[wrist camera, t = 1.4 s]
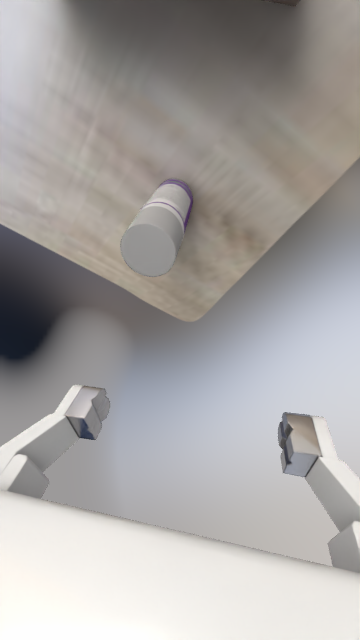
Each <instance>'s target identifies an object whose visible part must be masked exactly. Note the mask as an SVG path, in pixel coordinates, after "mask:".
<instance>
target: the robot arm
mask: <svg viewBox="0 0 360 640" xmlns="http://www.w3.org/2000/svg"><path fill="white" fill-rule="evenodd" d="M105 395H106V390H105V389H103V388H96V387H88V386H83V385H73V386H72V387H71V388H70V390H69V391H68V393H67V394H66V396H65V397H64V399H63V400H62V402H61V403H60V405H59V406H58V408H57V409H56V411H55V412H54V414H49V415H48V416H46V417H45V418H43V419H42V420H40V421H39V422H37V423H36V424H34V425H33V426H31V427H30V428H29V429H27V430H25V431H24V432H22V433H21V434H19V435H18V436H16V437H15V438H13V439H12V440H11V441H9V442H7V443H6V444H4V445H3V446H1V447H0V640H360V479H359V478H358V477H357V475H356V474H355V473H354V472H353V471H352V470H351V469H350V468H349V467H348V465H346V463H345V462H344V461H342V460H339V459H338V456H337V453H336V449H335V446H334V444H333V440H332V438H331V434H330V431H329V428H328V425H327V422H326V420H325V418H324V417H319V416H310V415H305V414H296V413H287V412H285V413H283V416H282V420H283V421H282V422H280V424H279V427H278V441H279V446H280V447H281V448H282V449H283V451H282V453H281V463H282V469H283V473H286V474H291V475H296V476H301V477H306V478H305V479H306V481H307V482H308V484H309V485H310V487H311V488H312V490H313V491H314V493H315V495H316V496H317V497H318V499H319V501H320V502H321V504H322V505H323V507H324V508H325V510H326V511H327V513H328V514H329V516H330V517H331V519H332V521H333V522H334V524H335V525H336V527H337V528H338V530H339V531H340V533H339V534H337V535H336V536H335V537H334V538H333V539H331V540H330V542H329V543H328V546H329V551H330V555H331V560H332V564H333V567H332V566H327V565H323V564H319V563H314V562H310V561H306V560H301V559H297V558H293V557H288V556H284V555H280V554H276V553H271V552H267V551H263V550H258V549H254V548H250V547H246V546H241V545H237V544H233V543H228V542H224V541H220V540H216V539H211V538H207V537H203V536H199V535H194V534H190V533H186V532H181V531H176V530H172V529H169V528H164V527H159V526H156V525H151V524H147V523H143V522H139V521H134V520H130V519H126V518H121V517H117V516H112V515H108V514H104V513H100V512H96V511H91V510H87V509H82V508H78V507H74V506H70V505H66V504H61V503H57V502H53V501H48V500H44V499H41V497H42V496H43V494H44V492H45V490H46V488H47V486H48V484H49V479H48V478H47V477H46V476H45V475H44V474H43V472H44V471H45V470H46V469H47V468H48V467H49V466H50V465H51V464H52V463H53V462H55V461H56V460H57V459H58V458H59V457H60V456H61V455H62V454H63V453H64V452H66V450H68V449H69V448H70V447H71V446H72V445H73V444H74V443H75V442H76V441H78V440H79V438H84V439H91V440H96V439H97V437H98V434H99V432H100V430H101V428H102V423H101V422H102V421H103V420H104V419H105V418H106V417H107V415H108V413H109V409H110V401H109V399H108V398H107V397H106V396H105Z"/></svg>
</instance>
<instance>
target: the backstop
mask: <svg viewBox="0 0 360 640" xmlns="http://www.w3.org/2000/svg"><path fill="white" fill-rule="evenodd" d="M263 1H269V2H274V3H279V4H285V5H290V6H296V5H297V4H298V3H299V1H300V0H263Z"/></svg>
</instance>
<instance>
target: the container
mask: <svg viewBox="0 0 360 640" xmlns="http://www.w3.org/2000/svg"><path fill="white" fill-rule="evenodd" d="M192 204H193V196H192V192H191V190H190V188H189V186H188V185H187V184H186V183H185V182H183V181H181V180H179V179H168V180H166V181H164V182H163V183H162V184H161V185H160V186H159V187H158V189H157V190H156V191H155V192H154V194H153V195H152V196H151V197H150V199H149V200H148V201H147V202H146V204H145V205H144V206H143V207H142V209H141V210H140V211H139V212H138V214H137V216H136V217H135V218H134V220H133V221H132V223H131V224H130V226H129V227H128V229H127V230H126V232H125V233H124V235H123V236H122V239H121V244H120V248H121V254H122V256H123V259H124V261H125V262H126V264H127V265H128V266H129V267H130V268H131V269H132V270H134V271H135V272H137V273H139V274H141V275H144V276H148V277H156V276H160V275H163V274H165V273H166V272H168V271H169V270H170V269H171V268H172V266H173V265H174V262H175V260H176V257H177V254H178V251H179V248H180V245H181V242H182V240H183V237H184V233H185V230H186V226H187V222H188V219H189V215H190V212H191V208H192Z"/></svg>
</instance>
